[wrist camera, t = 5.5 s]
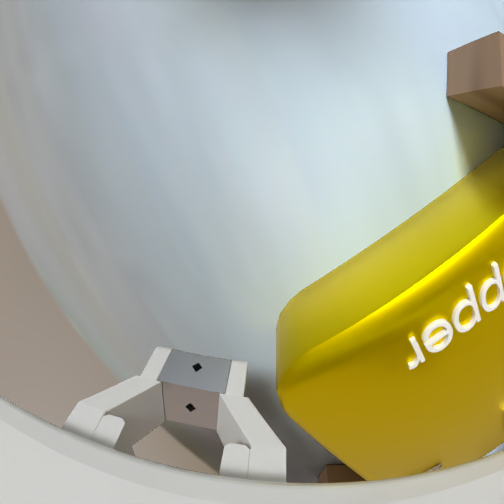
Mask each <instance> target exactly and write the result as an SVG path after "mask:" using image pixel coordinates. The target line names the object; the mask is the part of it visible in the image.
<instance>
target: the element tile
mask: <svg viewBox="0 0 504 504" xmlns="http://www.w3.org/2000/svg"><path fill="white" fill-rule="evenodd" d="M276 390H277V394H278V397H279V401H280V404H281V406H282V408H283V409H284V411H285V412H286V413H287V415H288V416H289V417H290V418H291V419H292V420H293V421H295V422H296V423H297V424H298V425H299V426H300V427H301V428H303V429H304V430H305V431H306V432H307V433H308V434H309V435H311V436H312V437H313V438H314V439H315V440H316V441H318V442H319V443H320V444H321V445H322V446H324V447H325V448H326V449H327V450H328V451H330V452H331V453H332V454H333V455H334V456H336V457H337V458H338V459H339V460H341V461H342V462H343V463H344V464H346V465H347V466H348V467H349V468H351V469H352V470H353V471H355V472H356V473H357V474H358V475H360V476H361V477H362V478H364V479H365V480H366V481H370V480H379V479H388V478H395V477H402V476H408V475H414V474H419V473H425V472H429V471H434V470H439V469H443V468H447V467H451V466H455V465H459V464H463V463H466V462H470V461H473V460H476V459H479V458H482V457H483V456H485V455H486V454H488V453H489V452H491V451H492V450H493V449H495V448H496V447H498V446H499V445H500V444H502V443H503V442H504V147H503V148H501V149H499V150H498V151H496V152H495V153H494V154H493V155H491V156H490V157H489V158H488V159H487V160H485V161H484V162H483V163H482V164H480V165H479V166H478V167H477V168H475V169H474V170H473V171H472V172H470V173H469V174H468V175H466V176H465V177H464V178H463V179H461V180H460V181H459V182H457V183H456V184H455V185H453V186H452V187H451V188H450V189H448V190H447V191H446V192H444V193H443V194H442V195H440V196H439V197H438V198H436V199H435V200H434V201H432V202H431V203H430V204H428V205H427V206H425V207H424V208H423V209H421V210H420V211H419V212H417V213H416V214H414V215H413V216H412V217H410V218H409V219H408V220H406V221H405V222H403V223H402V224H400V225H399V226H398V227H396V228H395V229H393V230H392V231H391V232H389V233H388V234H386V235H385V236H383V237H382V238H380V239H379V240H378V241H376V242H375V243H373V244H372V245H370V246H369V247H367V248H366V249H364V250H363V251H361V252H360V253H358V254H357V255H355V256H354V257H352V258H351V259H349V260H348V261H346V262H345V263H343V264H342V265H340V266H339V267H337V268H336V269H334V270H333V271H331V272H330V273H328V274H326V275H325V276H323V277H322V278H320V279H319V280H317V281H315V282H314V283H312V284H311V285H309V286H308V287H306V288H304V289H303V290H301V291H300V292H299V293H298V294H297V295H295V296H294V297H293V298H292V299H291V300H290V301H289V302H288V304H287V305H286V306H285V308H284V309H283V310H282V312H281V313H280V315H279V319H278V324H277V328H276Z"/></svg>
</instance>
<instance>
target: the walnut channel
mask: <svg viewBox="0 0 504 504" xmlns="http://www.w3.org/2000/svg"><path fill="white" fill-rule="evenodd" d="M446 97H449V98H451V99H454V100H456V101H458V102H460V103H463V104H465V105H467V106H469V107H471V108H474V109H476V110H478V111H480V112H482V113H484V114H486V115H488V116H490V117H492V118H494V119H496V120H498V121H499V122H501V123H503V124H504V34H502V33H501V32H499V31H498V32H495V33H493V34H490V35H488V36H485V37H483V38H480V39H478V40H475V41H473V42H471V43H468V44H466V45H464V46H461V47H459V48H457V49H454V50H452V51H450V52H448V71H447V96H446ZM358 481H366V480H365V479H364V478H362V477H361V476H360V475H358V474H357V473H356V472H355V471H353V470H352V469H351V468H349V467H348V466H347V465H326V466H325V468H324V470H323V471H322V473H321V474H320V476H319V477H318V483H341V482H358Z"/></svg>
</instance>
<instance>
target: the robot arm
mask: <svg viewBox="0 0 504 504" xmlns="http://www.w3.org/2000/svg"><path fill="white" fill-rule="evenodd" d="M247 369H248V362H245V361H237V360H228V359H221V358H215V357H209V356H203V355H198V354H193V353H189V352H184V351H180V350H175V349H170V348H165V347H161V346H158V347H157V348H155V350H154V352H153V354H152V356H151V357H150V359H149V361H148V363H147V365H146V367H145V368H144V370H143V372H142V374H141V376H134V377H132V378H130V379H127V380H125V381H123V382H121V383H119V384H117V385H115V386H113V387H110V388H108V389H106V390H104V391H102V392H100V393H98V394H95V395H93V396H91V397H88V398H86V399H84V400H82V401H79V402H78V404H77V405H76V407H75V408H74V410H73V411H72V413H71V414H70V416H69V417H68V419H67V420H66V422H65V423H64V425H63V426H62V428H60V427H58V426H56V425H54V424H52V423H50V422H47V421H45V420H43V419H42V418H40V417H38V416H36V415H34V414H32V413H30V412H28V411H27V410H25V409H23V408H21V407H19V406H18V405H16V404H14V403H12V402H11V401H9V400H7V399H6V398H4V397H2V396H1V395H0V504H504V450H503V451H500V452H497V453H494V454H492V455H489V456H486V457H483V458H479V459H476V460H473V461H470V462H466V463H463V464H459V465H455V466H451V467H447V468H443V469H439V470H434V471H429V472H425V473H419V474H414V475H408V476H402V477H395V478H388V479H379V480H370V481H358V482H341V483H287V482H286V447H285V446H284V445H283V444H282V442H281V441H280V440H279V438H278V437H277V436H276V434H275V433H274V432H273V431H272V429H271V428H270V427H269V425H268V424H267V423H266V421H265V420H264V418H263V417H262V416H261V414H260V413H259V412H258V410H257V409H256V407H255V406H254V405H253V403H252V402H251V401H250V399H249V398H247V397H244V392H245V384H246V377H247ZM165 420H169V421H174V422H179V423H184V424H190V425H194V426H199V427H203V428H208V429H213V430H217V433H218V435H219V437H220V439H221V441H222V443H223V446H224V451H223V456H222V461H221V466H220V471H219V476H218V475H212V474H206V473H200V472H195V471H191V470H186V469H181V468H177V467H172V466H168V465H164V464H161V463H157V462H153V461H149V460H146V459H142V458H139V457H136V456H135V455H134V452H133V449H132V445H133V444H135V443H136V442H138V441H139V440H140V439H142V438H143V437H144V436H146V435H147V434H149V433H150V432H151V431H153V430H154V429H155V428H157V427H158V426H159V425H161V424H162V423H163V422H165Z"/></svg>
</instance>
